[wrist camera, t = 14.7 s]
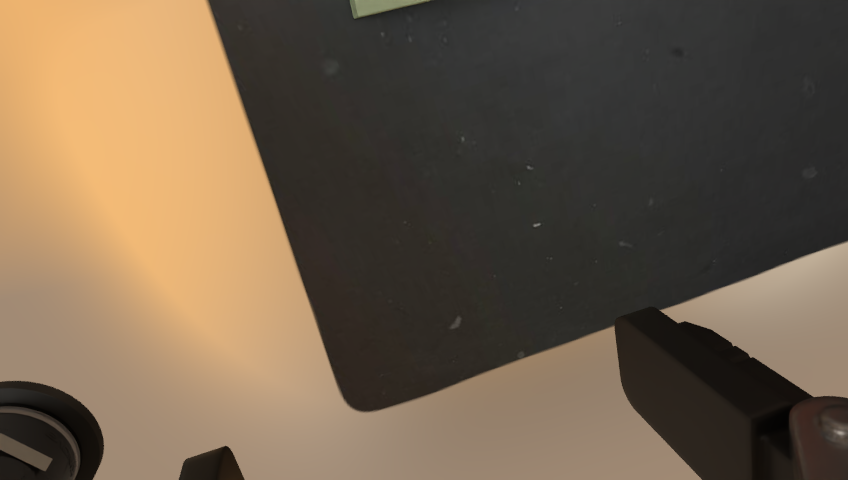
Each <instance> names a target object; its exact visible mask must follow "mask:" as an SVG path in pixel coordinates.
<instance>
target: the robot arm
mask: <svg viewBox="0 0 848 480" xmlns="http://www.w3.org/2000/svg"><path fill="white" fill-rule="evenodd" d="M615 335H616V343H617V352H618V360H619V369H620V376H621V382H622V386H623V389H624V392H625V394H626V396H627V398H628V400H629V402H630V404H631V405H632V406H633V408H634V409H635V410H636V411H637V412H638V413H639V414H640V415H641V416H642V418H644V420H645V421H646V422H647V423H648V424H649V425H650V426H651V427H652V428H653V429H654V430H655V431H656V432H657V433H658V434H659V435H660V436H661V437H662V438H663V439H664V440H665V441H666V442H667V443H668V444H669V445H670V447H671V448H672V449H673V450H674V451H675V452H676V453H677V454H678V455H679V456H680V457H681V458H682V459H683V460H684V461H685V462H686V463H687V464H688V465H689V466H690V467H691V468H692V469H693V471H695V473H696V474H697V475H698V476H699V477H700V478H701V479H702V480H848V398H843V397H835V396H823V397H813V396H811V395H809V394H808V393H807V392H805V391H804V390H802V389H800V388H799V387H798V386H796V385H795V384H793V383H791V382H790V381H788V380H787V379H785V378H784V377H782V376H781V375H779V374H778V373H776V372H775V371H773V370H772V369H770V368H769V367H767V366H766V365H764V364H762V363H761V362H759V361H758V360H757V359H755V358H753V357H752V358H750V357H749V355H748V354H747V353H746V352H744V351H743V350H741V349H740V348H738V347H737V346H734V347H733V346H732V343H731V342H729V341H728V340H726V339H725V338H723V337H722V336H720V335H719V334H717V333H715V332H714V331H712V330H711V329H707V328H704V327H701V326H698V325H694V324H692V323H688V322H685V321H684V322H681V323H677V322H675V321H674V320H672V319H671V318H669V317H668V316H667V315H665V314H664V313H662V312H661V311H659V310H658V309H656V308H654V307H648V308H645V309H642V310H639V311H636V312H633V313H630V314H627V315H624V316H621V317H618V318H617V319H616V321H615ZM81 462H82V449H81V445H80V442H79V439H78V437H77V435H76V434H75V432H74V431H73V430H72V428H71V427H70V426H69V425H68V424H67V423H66V422H64V421H63V420H62V419H61V418H59V417H58V416H56V415H54V414H53V413H51V412H49V411H46V410H44V409H41V408H38V407H35V406H31V405H25V404H16V403H4V404H0V480H74V479H75V477H76V475H77V473H78V471H79V469H80V466H81ZM179 480H244V477H243V475H242V473H241V471H240V469H239V466H238V464H237V462H236V459H235V457H234V455H233V453H232V451H231V450H230V448H229V447H227V446H224V447H221V448H218V449H215V450H212V451H209V452H206V453H203V454H200V455H197V456H194V457H191V458H188V459H186V460H185V461H184V463H183V466H182V470H181V474H180V477H179Z"/></svg>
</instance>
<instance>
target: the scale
mask: <svg viewBox="0 0 848 480" xmlns="http://www.w3.org/2000/svg"><path fill="white" fill-rule="evenodd" d="M349 1H350V5H351V9H352V13H353V17H354V19H357V18H361V17H365V16H369V15H374V14H378V13H382V12H386V11H391V10H395V9H399V8H403V7H408V6H412V5H416V4H420V3H424V2H429V1H433V0H349Z"/></svg>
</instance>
